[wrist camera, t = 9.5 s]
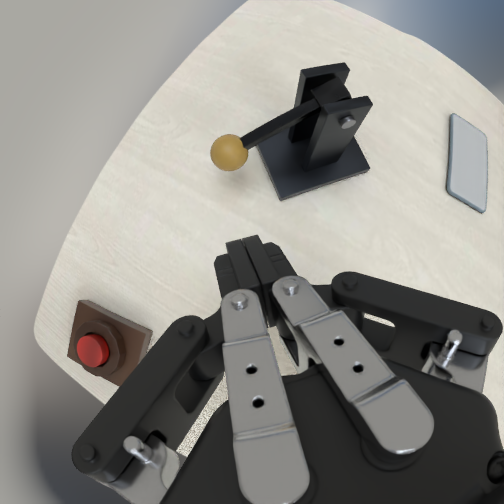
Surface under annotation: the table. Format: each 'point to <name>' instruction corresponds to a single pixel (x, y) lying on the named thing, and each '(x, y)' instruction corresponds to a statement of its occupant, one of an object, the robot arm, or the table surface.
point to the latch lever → (274, 126)
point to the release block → (109, 341)
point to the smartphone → (468, 163)
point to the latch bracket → (317, 139)
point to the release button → (93, 350)
